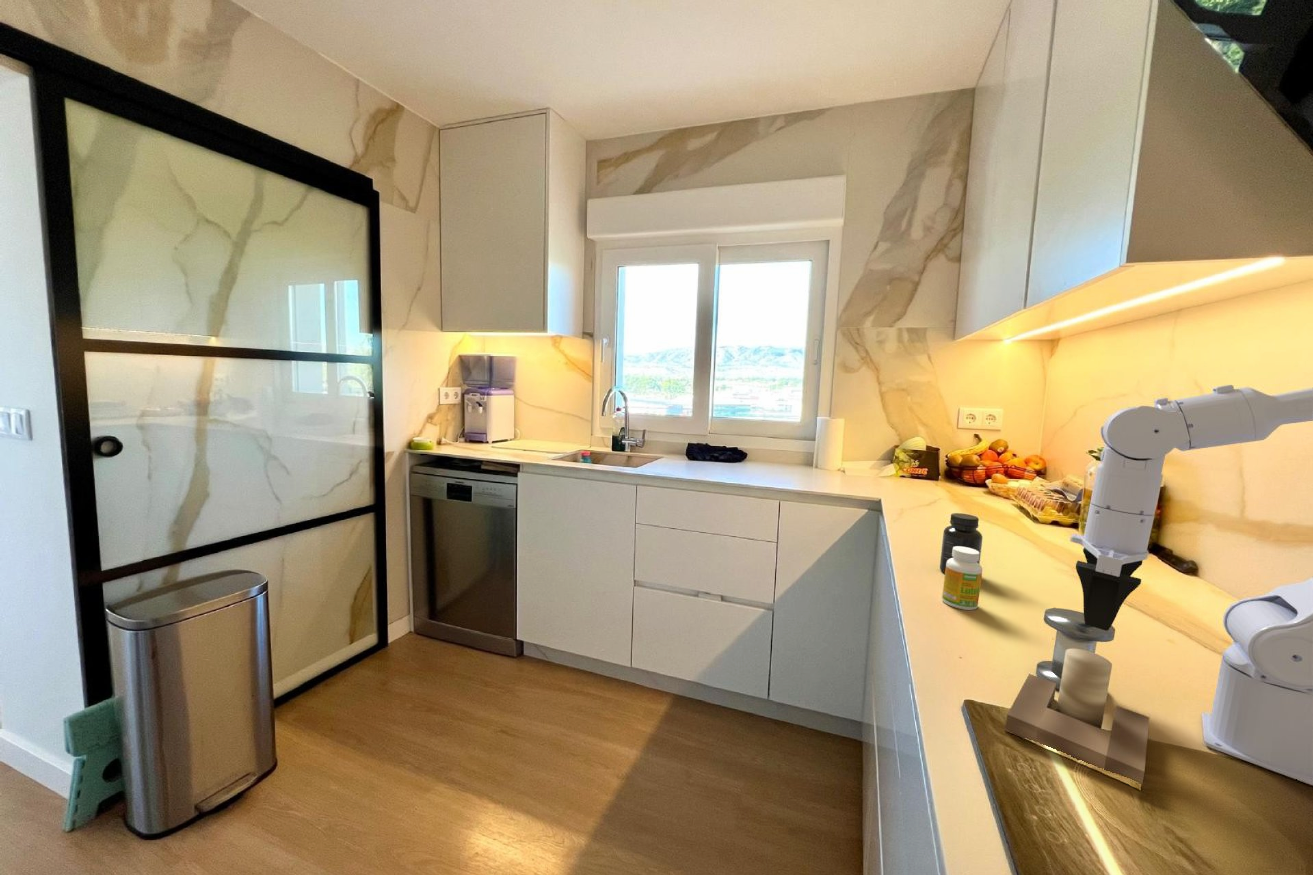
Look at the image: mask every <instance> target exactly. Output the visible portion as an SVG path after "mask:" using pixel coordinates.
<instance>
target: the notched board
mask: <svg viewBox="0 0 1313 875" xmlns="http://www.w3.org/2000/svg"><path fill="white" fill-rule="evenodd" d="M1027 675H1028V676H1027V677H1026V679H1025V681H1024V683H1023V684H1022V686H1021V688H1020V690H1019V691H1018V694H1017V696H1016V697H1015V699H1014V701H1013V703H1012V704H1011V707H1010V709H1009V711H1008V712H1007V715H1006V721H1005V727H1004V730H1005V729H1006V730H1008V731H1010V732H1012V733H1013V734H1016V735H1017V736H1020V737H1022V738H1027V739H1029V740H1033V741H1035V742H1039V743H1040V744H1043V745H1046V746H1048V747H1051V748H1053V749H1056V750H1057V751H1061V752H1063V753H1066V754H1067V755H1071V757H1073V758H1076V759H1077V760H1082V761H1084V762H1086V763H1088V764H1092V765H1094V766H1097V767H1098V768H1102V769H1103V768H1104V770H1106V771H1110V772H1112V773H1116V774H1119V775H1121V776H1124V777H1127V778H1130V779H1132V780H1134V781H1136V782H1138V783H1139V784H1141V785H1142V786H1143V782H1144V776H1145V769H1146V760H1147V759H1146V758H1147V749H1148V748H1147V747H1148V735H1149V727H1150V726H1149V725H1150V724H1149V722H1150V716H1146V715H1145V714H1141V713H1139V712H1136V711H1134V710H1130V709H1128V708H1125V707H1123V706H1119V705H1116V706H1115V709H1114V710H1115V711H1114V716H1113V720H1112V725H1111V729H1110V731H1107V730H1105V729H1103V728H1101V729H1100V728H1097V727H1095V726H1092V725H1090V724H1087V723H1085V722H1082V721H1080V720H1077V719H1074V718H1072V717H1069V716H1067V715H1064V714H1062V713H1059V712H1057V711H1056V710H1054V709H1052V705H1053V703H1054V700H1055V697H1056V696H1055V695H1056V691H1057V690H1056V683H1054V682H1051V681H1048V680H1045V679H1042V678H1040V677H1037V675H1034V674H1031V673H1028V674H1027ZM1017 736H1016V737H1017Z"/></svg>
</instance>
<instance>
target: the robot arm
mask: <svg viewBox="0 0 1313 875" xmlns="http://www.w3.org/2000/svg"><path fill="white" fill-rule="evenodd" d="M1153 403H1154V406H1151V405H1150V406H1149V405H1140V406H1131V407H1124V408H1121V409H1118V410H1116V411H1115V412H1114V413H1113V414H1111V415H1109V416H1108V417H1107V419H1106V420H1105V422H1104V424H1103V426H1101V427H1100V435H1101V438H1102V440H1103V443H1104V444H1105V445H1104V446H1103V449H1102V451H1101V453H1100V458H1099V459H1100V463H1099V464H1098V466H1097V467H1096V471H1095V472H1096V474H1095V478H1094V483H1093V488H1092V492H1091V497H1090V503H1089V507H1088V513H1087V517H1086V522H1085V528H1084V533H1083V535H1081V534H1077V533H1072V534H1071V536H1070V540H1069V542H1072V543H1075V544H1079V545H1080V546H1082V547H1083V549H1082V553H1083V555H1084V557H1085V560H1086V561H1082V560H1077V561H1076V562H1075V569H1076V574H1077V575H1078V578H1079V581H1080V585H1081V590H1082V597H1083V600H1082V601H1083V613H1084V621H1085V624H1086V625H1089V626H1092V627H1095V628H1099V629H1102V630H1105V631H1108V630H1109V628H1110V627H1111V625H1112V626H1113V623H1114V622H1115V619H1116V618H1117V616H1118V613H1119V611H1120V609H1121V607H1122V606H1123V604H1124V602H1125V600H1126V599H1128V597H1129V595H1131V593H1133V592H1134V591H1135V590H1136V589H1137V588H1138V587H1140V585H1141V584H1142V578H1140V577H1135V576H1132V575H1133V574H1134V573H1135V572H1136V571H1137V570H1138V569H1139V568H1140V567H1141V566H1142V565H1143V561H1145V560H1147V559H1148V558H1149V550H1148V546H1149V542H1150V537H1151V533H1152V528H1153V523H1154V519H1155V514H1156V509H1157V504H1158V499H1159V495H1160V492H1161V487H1162V482H1163V474H1162V473H1163V469H1164V468H1163V467H1164V464H1165V463H1164V462H1165V459H1166V455H1168V454H1170V453H1171V452H1172V451H1173V450H1174V449H1177V450H1179V451H1181V452H1186V451H1192V450H1199V449H1200V450H1201V449H1207V448H1215V447H1221V446H1222V447H1223V446H1229V445H1236V444H1243V443H1244V444H1245V443H1252V442H1258V441H1265V440H1266V439H1267V438H1269V436H1271V434H1272V433H1273V432H1275V431H1276V430H1277V429H1278V428H1279V427H1281V426H1282V425H1289V424H1290V425H1291V424H1296V423H1297V424H1298V423H1305V422H1306V423H1307V422H1313V387H1310V388H1306V389H1299V390H1294V391H1290V392H1289V391H1288V392H1283V393H1278V394H1273V395H1269V394H1267V393H1264V392H1261V391H1260V390H1257V389H1254V388H1253V387H1248V386H1245V387H1239V388H1234V385H1232V384H1224V385H1220V386H1214V387H1213V388H1212V393H1206V394H1200V395H1196V396H1191V397H1190V396H1189V397H1185V398H1184V397H1183V398H1179V399H1174V400H1169V399H1168V397H1161V398H1155V399H1154V400H1153ZM1222 620H1223V621H1222V622H1223V626H1224V627H1223V628H1224V630H1225V632H1226V633H1227V634H1228V635H1229V637H1230V638H1231V639H1232V640H1233V642H1232V643H1231V644H1230V646H1229V647H1227V648H1226V649H1225V650H1224V651H1223V652H1222V658H1221V662H1220V667H1219V673H1218V678H1217V683H1216V687H1215V691H1214V692H1215V693H1214V698H1213V702H1212V709H1211V713H1210V712H1206V711H1205V712H1202V714H1201V719H1202V723H1201V724H1202V733H1203V743H1204V745H1205V746H1206V747H1208V748H1209V749H1210V748H1211V749H1213V750H1216V751H1219V752H1221V753H1225V754H1226V755H1229V756H1232V757H1235V758H1237V759H1240V760H1243V761H1246V762H1249V763H1251V764H1254V765H1256V766H1258V767H1262V768H1263V769H1266V770H1270V771H1272V772H1275V773H1278V774H1281V775H1282V776H1283V775H1284V776H1286V777H1288V778H1290V779H1294V780H1296V779H1297V781H1299V782H1302V783H1305V784H1307V785H1310V786H1313V576H1312V577H1311V578H1309V579H1306V580H1304V581H1302V582H1297V583H1296V582H1295V583H1291V584H1285V585H1281V586H1277V587H1275V588H1274V589H1273V590H1271V591H1270V592H1268V593H1265V594H1262V595H1259V596H1254V597H1247V598H1243V599H1240V600H1237V601H1234V602H1233V603H1231V604H1230V605H1229V606H1228V607H1227V608H1226V609H1225V611H1224V614H1223V619H1222Z"/></svg>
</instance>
